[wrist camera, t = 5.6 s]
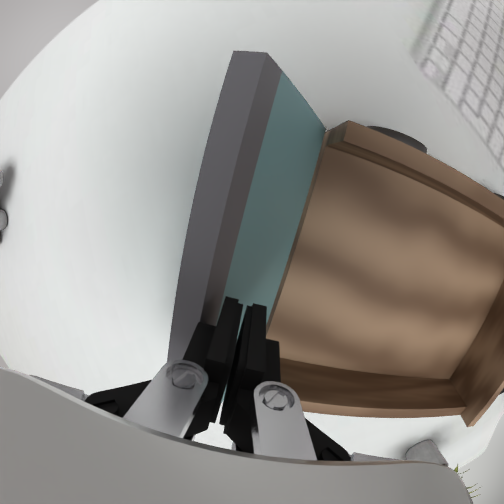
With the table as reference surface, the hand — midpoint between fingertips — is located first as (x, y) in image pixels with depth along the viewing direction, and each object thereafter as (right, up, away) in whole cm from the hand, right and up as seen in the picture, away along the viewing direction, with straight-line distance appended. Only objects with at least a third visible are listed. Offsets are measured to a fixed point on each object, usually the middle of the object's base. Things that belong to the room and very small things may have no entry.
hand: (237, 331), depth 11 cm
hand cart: (+15, 0, +13) cm, 20 cm away
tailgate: (+3, +3, +10) cm, 11 cm away
